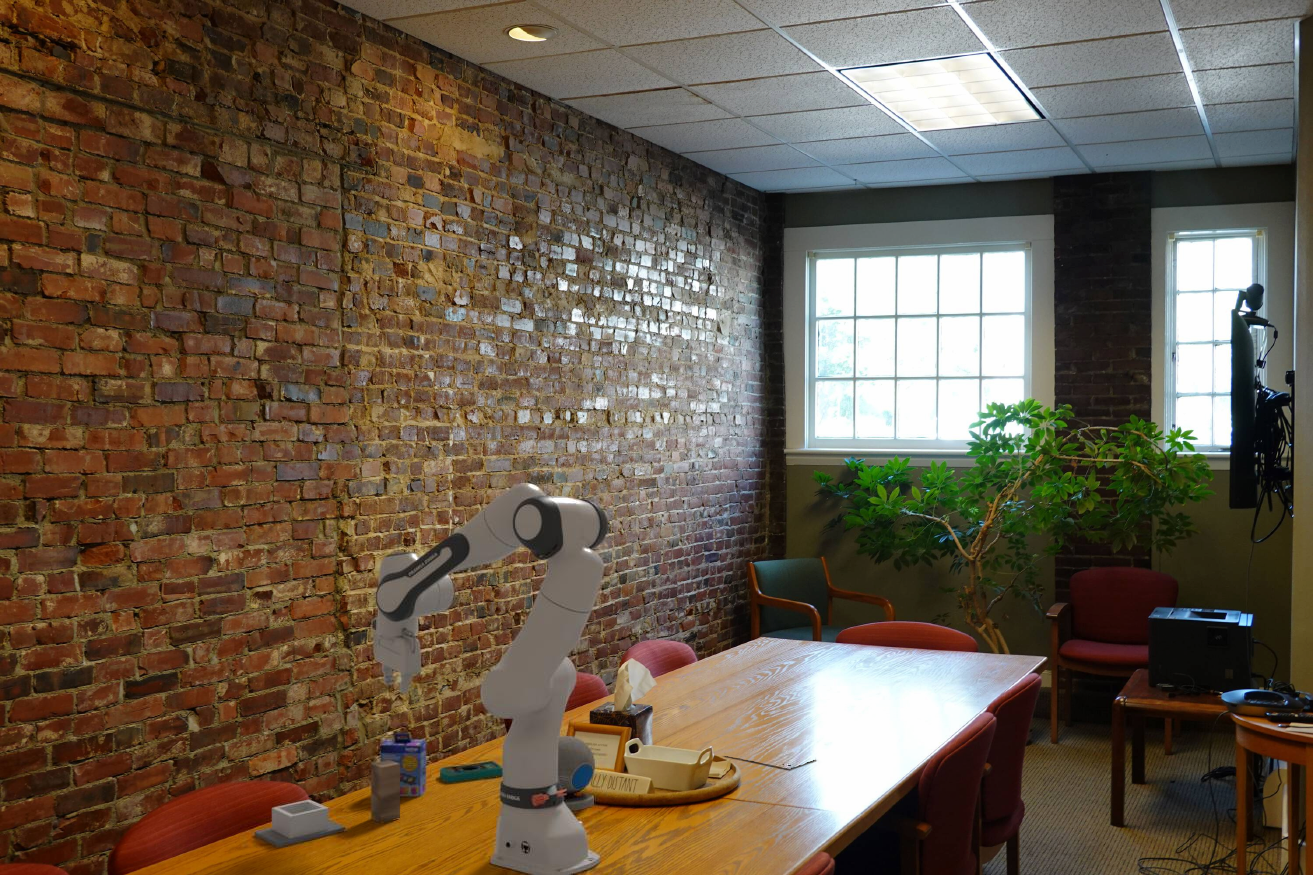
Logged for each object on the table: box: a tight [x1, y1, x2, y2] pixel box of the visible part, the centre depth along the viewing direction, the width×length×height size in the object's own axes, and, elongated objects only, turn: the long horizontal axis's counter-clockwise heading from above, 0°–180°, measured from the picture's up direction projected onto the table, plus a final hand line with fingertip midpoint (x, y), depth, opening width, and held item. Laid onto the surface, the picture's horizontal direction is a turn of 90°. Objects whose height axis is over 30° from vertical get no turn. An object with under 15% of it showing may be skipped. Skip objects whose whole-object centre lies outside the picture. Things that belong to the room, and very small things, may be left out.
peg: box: [370, 760, 401, 823], centre depth 252 cm, size 4×4×12 cm
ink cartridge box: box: [379, 733, 427, 798], centre depth 271 cm, size 10×6×14 cm, turn 88°
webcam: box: [558, 735, 596, 812], centre depth 263 cm, size 13×13×15 cm
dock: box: [253, 799, 347, 849], centre depth 242 cm, size 11×15×5 cm
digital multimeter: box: [439, 760, 503, 784], centre depth 286 cm, size 7×15×3 cm, turn 117°
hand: (396, 688), depth 253 cm, fingers open, 8 cm apart
